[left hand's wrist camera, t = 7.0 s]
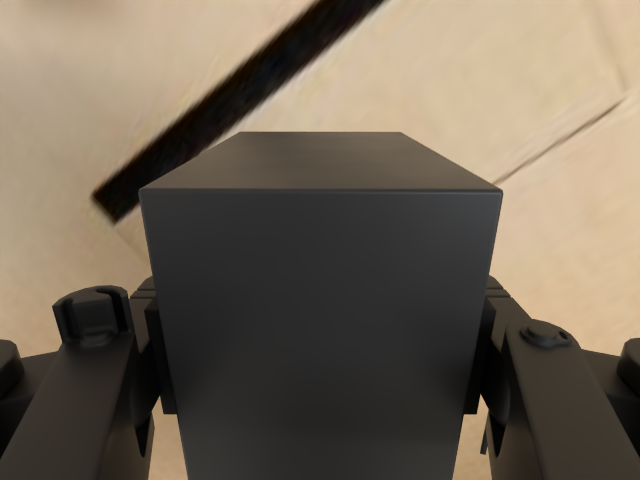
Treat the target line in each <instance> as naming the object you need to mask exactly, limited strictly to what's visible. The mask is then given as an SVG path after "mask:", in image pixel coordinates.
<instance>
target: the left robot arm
mask: <svg viewBox="0 0 640 480" xmlns="http://www.w3.org/2000/svg"><path fill="white" fill-rule="evenodd" d="M52 308H53V312H54V315H55V318H56V322H57V325H58V329H59V332H60V336H61V339H62V344H61V346H60V348H59V350H58V351H56V352H51V353H46V354H41V355H35V356H30V357H25V358H21V357H20V355H19V352H18V349H17V346H16V344H14V343H13V342H11V341H10V340H0V480H148V476H149V468H150V460H151V452H152V444H153V437H154V429H155V427H154V421H153V416H152V409H153V407H154V406H155V404H156V402H157V400H158V398H159V396H160V398H161V403H162V408H163V413H164V414H177V412H176V407H175V401H174V395H173V389H172V384H171V378H170V372H169V366H168V360H167V355H166V349H165V343H164V337H163V332H162V326H161V320H160V314H159V309H158V303H157V297H156V291H155V286H154V280H153V276H151V277H149V278H147V279H146V280H145V281H144V282H143V283H142V284H141V285H140V286H139V288H138V289H137V291H135V292H134V293H133V294H132V295H131V296H130V299H128V294H127V291H126V290H125V289H123V288H122V287H117V286H112V285H108V286H95V287H90V288H85V289H82V290H79V291H76V292H73V293H70V294H68V295H67V296H65V297H63V298H61V299H59V300H58V301H57V302H56V303H55V304H54V305H53V306H52ZM480 394H481V395H482V397H483V399H484V401H485V403H486V405H487V407H488V409H489V411H488V416H487V420H486V425H485V430H484V435H483V440H482V445H481V451H480V454H484V455H486V450H487V447H488V451H489V459H490V467H491V474H492V480H640V338H633V339H630V340H628V341H627V342H625V344H624V347H623V350H622V353H621V356H614V355H609V354H604V353H598V352H593V351H588V350H584V349H581V347H580V346H579V344H578V342H577V341H576V340H575V338H574V337H573V336H572V335H571V334H570V333H568V332H567V331H565V330H563V329H562V328H560V327H558V326H555V325H553V324H551V323H548V322H544V321H540V320H536V319H531V317H530V316H529V315H528V314H527V313H526V312H525V311H524V310H523V309H522V308H521V306H520V305H519V304H518V303H517V302H516V301H515V300H514V299H513V298H511V296H510V294H509V293H508V292H507V291H506V290H503V287H502V286H501V285H500V283H499V282H498V281H497V280H496V279H495V278H494V277H492V276H490V275H489V277H488V282H487V288H486V293H485V299H484V304H483V310H482V316H481V321H480V327H479V332H478V338H477V344H476V349H475V355H474V360H473V366H472V371H471V377H470V383H469V388H468V394H467V399H466V405H465V411H464V414H477V410H478V404H479V399H480Z"/></svg>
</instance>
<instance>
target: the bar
mask: <svg viewBox="0 0 640 480" xmlns="http://www.w3.org/2000/svg"><path fill="white" fill-rule="evenodd" d="M502 198H503V191H502V190H501V189H500V188H498V187H496V186H494V185H493V184H491V183H489V182H487V181H486V180H484V179H482V178H480V177H479V176H477V175H475V174H473V173H472V172H470V171H468V170H466V169H464V168H463V167H461V166H459V165H457V164H456V163H454V162H452V161H450V160H449V159H447V158H445V157H443V156H442V155H440V154H438V153H436V152H435V151H433V150H431V149H429V148H428V147H426V146H424V145H422V144H421V143H419V142H417V141H415V140H414V139H412V138H410V137H408V136H406V135H405V134H403V133H401V132H239V133H237V134H236V135H234V136H232V137H230V138H229V139H227V140H225V141H223V142H222V143H220V144H218V145H216V146H215V147H213V148H211V149H209V150H208V151H206V152H204V153H202V154H201V155H199V156H197V157H195V158H194V159H192V160H190V161H188V162H187V163H185V164H183V165H181V166H180V167H178V168H176V169H174V170H173V171H171V172H169V173H167V174H166V175H164V176H162V177H160V178H159V179H157V180H155V181H153V182H152V183H150V184H148V185H146V186H145V187H143V188H141V189H139V199H140V205H141V211H142V217H143V222H144V228H145V234H146V240H147V245H148V251H149V257H150V263H151V268H152V274H153V280H154V286H155V291H156V297H157V303H158V309H159V314H160V320H161V326H162V332H163V337H164V343H165V349H166V355H167V360H168V366H169V372H170V378H171V384H172V389H173V395H174V401H175V407H176V412H177V418H178V424H179V430H180V435H181V441H182V447H183V453H184V458H185V464H186V470H187V476H188V480H452V478H453V472H454V466H455V461H456V455H457V450H458V444H459V438H460V433H461V427H462V422H463V416H464V411H465V405H466V399H467V394H468V388H469V383H470V377H471V371H472V366H473V360H474V355H475V349H476V344H477V338H478V332H479V327H480V321H481V316H482V310H483V304H484V299H485V293H486V288H487V282H488V277H489V271H490V265H491V260H492V254H493V249H494V243H495V237H496V232H497V226H498V221H499V215H500V210H501V204H502Z"/></svg>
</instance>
